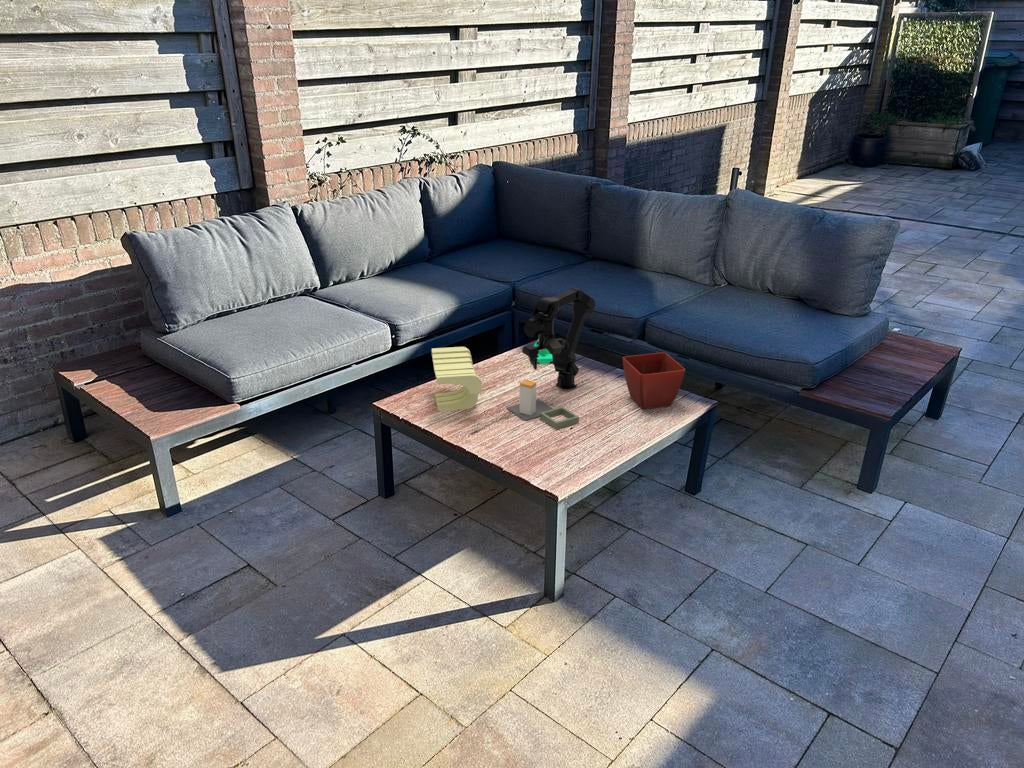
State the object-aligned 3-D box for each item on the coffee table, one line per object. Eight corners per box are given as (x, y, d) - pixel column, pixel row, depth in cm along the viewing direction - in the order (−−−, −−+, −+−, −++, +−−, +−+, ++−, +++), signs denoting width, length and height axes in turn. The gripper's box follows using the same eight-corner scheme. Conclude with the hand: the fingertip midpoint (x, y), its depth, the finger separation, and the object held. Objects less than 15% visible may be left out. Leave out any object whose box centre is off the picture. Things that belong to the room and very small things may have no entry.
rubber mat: (538, 400, 325) (538, 398, 325) (556, 412, 315) (556, 410, 315) (506, 408, 318) (506, 407, 318) (524, 421, 308) (524, 419, 308)
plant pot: (637, 414, 315) (641, 374, 308) (619, 394, 331) (621, 356, 325) (682, 408, 319) (686, 369, 312) (661, 389, 336) (665, 352, 329)
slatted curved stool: (481, 417, 311) (481, 374, 303) (440, 420, 308) (439, 377, 301) (470, 386, 338) (470, 346, 330) (432, 388, 335) (431, 348, 328)
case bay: (562, 412, 315) (562, 406, 314) (578, 422, 307) (579, 416, 306) (540, 418, 310) (540, 412, 309) (556, 429, 302) (556, 423, 301)
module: (524, 408, 317) (525, 379, 312) (535, 411, 314) (536, 382, 309) (519, 412, 313) (519, 382, 308) (530, 415, 311) (531, 385, 306)
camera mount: (531, 364, 360) (531, 343, 356) (528, 358, 367) (529, 337, 363) (557, 363, 361) (558, 342, 357) (554, 357, 368) (555, 336, 364)
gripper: (537, 341, 306) (536, 378, 312) (577, 332, 315) (575, 369, 322) (521, 332, 315) (521, 369, 321) (560, 324, 324) (559, 360, 330)
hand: (544, 367), depth 323 cm, fingers open, 9 cm apart
